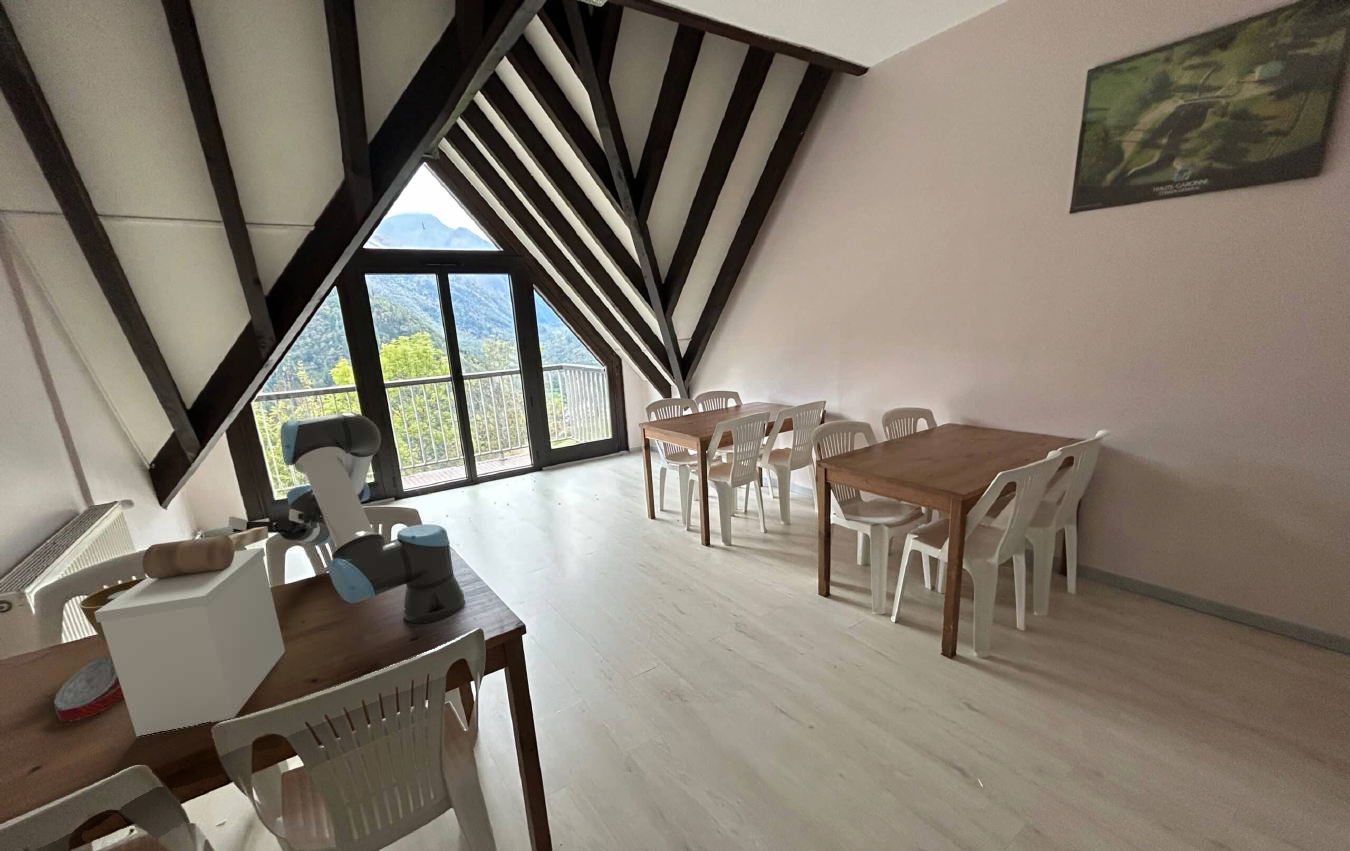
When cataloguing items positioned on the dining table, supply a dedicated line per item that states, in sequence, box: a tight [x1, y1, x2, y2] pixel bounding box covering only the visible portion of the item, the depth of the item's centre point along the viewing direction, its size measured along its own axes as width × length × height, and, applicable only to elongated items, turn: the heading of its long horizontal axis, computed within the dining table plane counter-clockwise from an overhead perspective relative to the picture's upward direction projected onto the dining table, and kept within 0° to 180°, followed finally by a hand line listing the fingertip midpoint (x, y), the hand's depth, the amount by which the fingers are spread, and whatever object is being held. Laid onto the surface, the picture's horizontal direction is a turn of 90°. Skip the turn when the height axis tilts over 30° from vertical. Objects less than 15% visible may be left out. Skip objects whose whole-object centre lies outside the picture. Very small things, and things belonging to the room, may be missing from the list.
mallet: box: [142, 527, 270, 579], centre depth 118 cm, size 30×12×7 cm, turn 15°
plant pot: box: [78, 576, 148, 646], centre depth 126 cm, size 15×15×16 cm
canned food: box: [53, 656, 124, 722], centre depth 108 cm, size 11×10×10 cm
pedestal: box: [94, 547, 286, 737], centre depth 108 cm, size 22×17×27 cm
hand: (260, 517), depth 134 cm, fingers open, 13 cm apart
